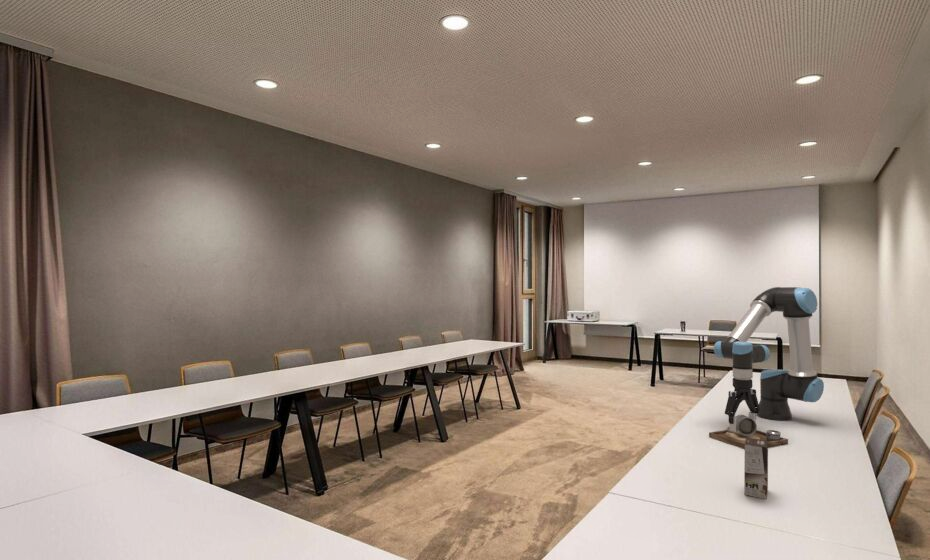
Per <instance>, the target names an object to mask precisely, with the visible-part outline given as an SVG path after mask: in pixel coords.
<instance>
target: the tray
mask: <svg viewBox="0 0 930 560" xmlns="http://www.w3.org/2000/svg"><path fill="white" fill-rule="evenodd" d="M708 437H709V438H710V439H712V440H713V439H714V440H716V441H719V442H721V443H726V444H728V445H732V446H734V447H737V448H740V449H743V450H745V441H746V438H751V439H761V440H766V431H765V432H764V431H761V430H758V429H756V432H755V433H754V434H752V435H750V436H746V435H743V434H741V433H740V432H739V431H738V432H735V433H728V432H727V429H723V430H717V431H710V432H708ZM780 445H781V446H786V445H789V439H788V438H784V437H782V436H780V440H776V441H771V442H769V441H768V449H769V448H775V447H781V446H780Z"/></svg>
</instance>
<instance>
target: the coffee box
mask: <svg viewBox="0 0 930 560" xmlns="http://www.w3.org/2000/svg"><path fill="white" fill-rule="evenodd" d="M743 476H744V479H743V481H744V493H743V494H744V495H745V496H748V495H749V497H755V498H759V499H763V498H764V500H767V498H768V491H769V490H768V489H769V448H768V441H767V440H761V439H751V438H746V441H745V449H744V475H743Z"/></svg>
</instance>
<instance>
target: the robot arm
mask: <svg viewBox="0 0 930 560" xmlns="http://www.w3.org/2000/svg"><path fill="white" fill-rule="evenodd" d="M749 306H750V308H749V309H748V310H747V311H746V313H745V314H744V315H743V317H742V318H741V319H740V321H739V322H738V323H737V324H736V326H735V327H734V328H733V329H732V331H731V332H730V333H729V334H728V336H727V337H726V339H725V340H724V341H723V340H719V341H716V342H715V343H714V345H713V353H714V355H715V356H716V357H717V358H721V359H727V360H732V377H733V378H732V387H733V388H734V390H733V391H730V390H729V391H728V397H727V401H726V405H725V410H724V415H726V416H727V417H728V424H729V425H728V426H729V431H733V432H736V416H737V415H736V414H737V410H738V408H739V407H740V404H741V403H742V402H743V401H744V403H745V404H746V405H747V407H748V409H749V412H748V417H750V418H752V419H753V420H754V421H755V422H756V420H757V416H758V417H760V418H763V419H766V420H774V421H789V420H792V419H793V415H792V414H793V413H792V411H791V408H790V405H789V402H788V400H789V399H790V400H791V399H792V400H796V401H800V402H804V403H806V402H807V403H817V402H818V401H819V400H820V399H821V397H822V396H823V393H824V388H825V385H824V383H825V382H824V381H823V379H822V378H820V377H818V372H817V371H815V369H814V367H813V355H812V343H811V341H812V340H811V332H810V329H811V328H810V319H812V317H813V314H814V313H815V312H816V311H817V309H818V298H817V296H816V294H815V292H814V291H813V290H812V289H811V288H809V287H800V286H795V287H792V286H791V287H790V286H789V287H786V286H785V287H784V286H783V287H782V286H781V287H780V286H776V287H771V288H767V289H766V290H764V291H762V292H761V293H759V294H758V295H757V296H756V297H755V298H754V299H753V300H752V301H751V302H750V305H749ZM774 312H775V313H776V312H778V313H779V312H780V313H782V317H783V318H784V319H786V322H787V334H788V344H789V345H788V346H789V356H790V357H789V358H790V370H787V369H766V370H761V372H760V378H759V381H760V385H759V387H760V401H758V396H757V389H755V388H753V364H755V363H763V362H766V361H768V360H769V358H770V356H771V352H770V349H769V348H768V347H767V345H764V344H752V342H750V341H748V340H749V339H750V338H751V336H752V335H753V334H754V332H756V330H757V328H759V326H760V325H761V323H762V322H763V321H764V319H765V318H766V317H769V316H771V314H772V313H774Z"/></svg>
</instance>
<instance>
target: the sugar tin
mask: <svg viewBox="0 0 930 560" xmlns="http://www.w3.org/2000/svg"><path fill="white" fill-rule="evenodd" d="M765 433H766V440H767V441H769V442H771V441H776V440H780V437H781V431H779V430H774V429H773V430H772V429H769V430H768V429H767V430H766V431H765Z"/></svg>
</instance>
